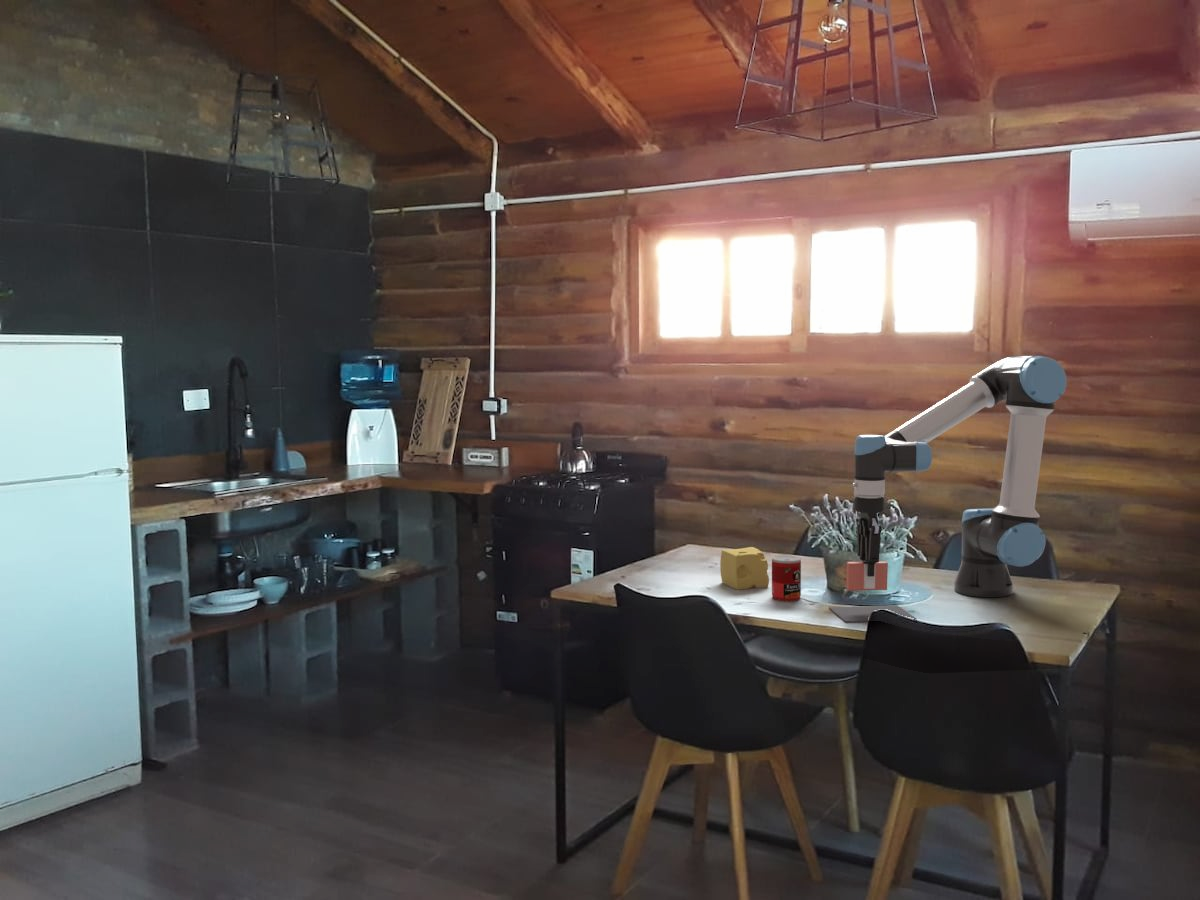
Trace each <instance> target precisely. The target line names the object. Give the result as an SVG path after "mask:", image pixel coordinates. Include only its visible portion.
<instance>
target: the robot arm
mask: <svg viewBox="0 0 1200 900" xmlns="http://www.w3.org/2000/svg"><path fill="white" fill-rule="evenodd" d="M1066 389H1067V375H1066V371H1065V369H1064V368H1063V366H1062V365H1061V364H1060V363H1059V362H1058V361H1057V360H1055V359H1054V358H1051V357H1047V356H1042V355H1012V356H1008V357H1004V358H1002V359H1000V360H998V361H996V362H995V363H993V364H991V365H989V366H987V367H986V368H985V369H983V370H981V371H980V372H978V373H976V374H975V375H973V376H972V377H970V378H969V381H968V384H966V385H964V386H962V387H961V388H959V389H957V391H955V392H953V393H951V394H950V395H948V396H947V397H945V398H943V399H942V400H940V401H938V402H936V404H933V405H932V406H931V407H929V408H928V409H926V410H924V411H923V412H921V413H920V414H918V415H916V416H915V417H913V418H911V419H910V420H909V421H906V422H905V423H904V424H902V425H901V426H899V427H898V428H896V429H894V430H893V431H890V432H889V433H887V434H886V435H883V434H882V435H879V434H860V435H858V436H857V437H856V438H855V443H854V450H853V451H854V452H853V454H854V476H853V477H854V478H853V479H854V482H853V483H852V484H851V485H852V487H853V488H854V490H853V494H854V495H855V496H854V497H853V510H854V511H855V512H856V513H859V517H857V518H856V517H855V523H856V543H857V544H856V547H857V548H856V549H857V557H859V560H860V562H863V564H864V589H875V564H876V563H878V562H879V561H880V551H881V550H880V549H881V534H882V531H883V530H882V529H883V527H882V525H879V524H880V521H879V519H878V514H879V513H883V512H884V511H885V498H884V495H885V494H886V473H892V472H893V473H897V472H899V473H903V472H904V473H905V472H906V473H907V472H909V473H911V472H912V473H913V472H914V473H918V472H925V471H926V472H927V470H929V469H930V467H931V465H932V462H933V452H932V449H931V446H930V445H929V444H928V443H930V442H931V441H932V440H934V439H936V438H937V437H939V436H941V435H942V434H944V433H946V432H947V431H949V430H950V429H952V428H953V427H955V426H957V425H958V424H960V423H962V422H963V421H965V420H967V419H968V418H971V416H973V415H975V414H976V413H978V412H979V411H980V410H982V409H984V408H990V409H991V408H993V407H996V405H997V404H1000V403H1003V402H1005V407H1006V409H1007V410H1008V411H1009V412H1010V418H1009V426H1008V435H1007V442H1006V450H1005V456H1004V457H1005V458H1004V466H1003V474H1002V481H1001V487H1000V489H1001V490H1000V496H999V497H1000V498H999V503H998V504H997V506H995V507H994V508H993V507H992V508H991V507H990V508H970V509H965V510H964V511H963V513H962V517H961V563H960V566H959V568H958V571H957V574H956V577H955V579H954V582H953V583H954V592H957V593H959V594H962V595H965V596H971V597H976V598H977V597H978V598H1005V597H1009V596H1012V595H1013V594H1014V585H1013V582H1012V578H1011V575H1010V572H1009V569H1008V568H1009V567H1008V565H1009V566H1014V567H1026V566H1030V565H1032V564H1033V563H1034V562H1036V561H1037V560H1038V559H1040V557H1041V556H1042V555H1043V553H1044V551H1045V548H1046V547H1045V546H1046V536H1045V533H1044V532H1043V530H1042V528H1040V518H1041V516H1040V514H1039V513H1038V511H1037V510H1036V508H1035V506H1036V499H1037V491H1038V487H1039V486H1038V485H1039V479H1040V478H1039V476H1040V470H1041V469H1040V468H1041V462H1042V454H1043V447H1044V445H1043V444H1044V438H1045V430H1046V422H1047V418H1048V416H1049V415H1051V414H1052V413H1053V412H1054V411H1055V402H1056V401H1057V400H1059V399H1060V397H1061V396H1063V395H1064V393H1065V391H1066Z"/></svg>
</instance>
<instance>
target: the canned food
mask: <svg viewBox="0 0 1200 900" xmlns="http://www.w3.org/2000/svg"><path fill="white" fill-rule="evenodd" d="M801 568H802V561H801V557H800V556H796V555H795V556H794V555H787V554H786V555H784V554H783V555H775V556H772V557H771V595H772V599H773V600H775V601H780V602H796V601H798V600H800V598H801V596H802V595H801V593H802V592H801V591H802V586H801V585H802V581H801V580H802V569H801Z"/></svg>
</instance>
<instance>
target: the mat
mask: <svg viewBox="0 0 1200 900" xmlns="http://www.w3.org/2000/svg"><path fill="white" fill-rule="evenodd" d="M828 609H829V611H831V612H832V613H833V612H834V613H833V614H834V615H835V616H837V618H840V620H842V621H843V622H844V623H868V622H867V621H868V617H869V615H870V613H871V612H873V611H874V610H878V609H888V610H891V611H894V612H895V613H898V614H900V615H903V616H907V617H911V618H914V619H917V618H916V617H915V616H914V615H912V614H910V613H909V612H908V611H906V610H905V609H903V608H902V607H901V606H899V605H898V604H890V605H889V604H888V605H885V604H884V605H861V606H860V605H858V606H856V605H855V606H853V605H852V606H833V607H831V606H828Z"/></svg>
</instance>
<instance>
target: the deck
mask: <svg viewBox="0 0 1200 900" xmlns="http://www.w3.org/2000/svg"><path fill="white" fill-rule="evenodd" d="M888 568H889V562H888V561H883V560H882V561H880V560H879V562H878V563H876V564H875V589H864V564H863V562H861V561H846V582H845V583H846V586H845V589H846V591H848V592H849V591H850V592H851V591H888V574H889V573H888Z"/></svg>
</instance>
